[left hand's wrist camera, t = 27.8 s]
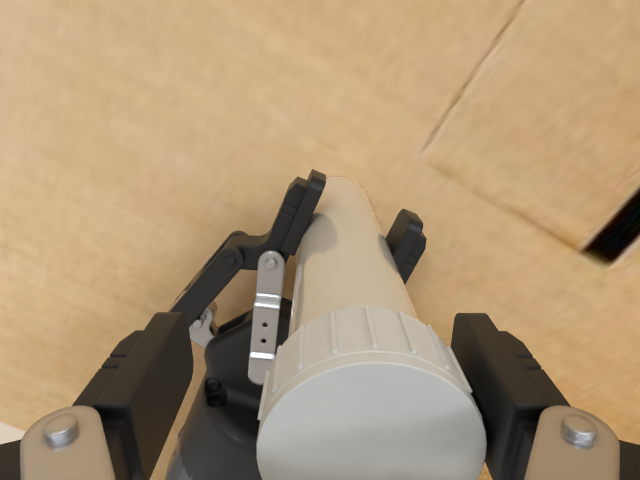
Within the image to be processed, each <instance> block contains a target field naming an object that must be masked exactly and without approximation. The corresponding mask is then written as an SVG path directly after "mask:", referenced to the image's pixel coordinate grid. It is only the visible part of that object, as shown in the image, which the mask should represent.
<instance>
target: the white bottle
mask: <svg viewBox="0 0 640 480" xmlns="http://www.w3.org/2000/svg"><path fill="white" fill-rule="evenodd" d="M365 306H369V307H378V308H385V309H390V310H394V311H398V312H399V311H402V312H403V313H404V314H406V315H408V316H411V317H413V318H415V319H417V320H418V321H420V320H419V318H418V316H417V313H416V311H415V309H414V306H413V304H412V301H411V299H410V297H409V294H408V292H407V289H406V287H405V285H404V282H403V280H402V278H401V275H400V273H399V270H398V268H397V266H396V263H395V261H394V258H393V256H392V254H391V251H390V249H389V246H388V244H387V242H386V239H385V237H384V235H383V232H382V230H381V227H380V225H379V223H378V220H377V218H376V215H375V213H374V211H373V208H372V206H371V203H370V201H369V199H368V196H367V194H366V192H365V191H364V189H363V188H362V187H361V186H360V185H359V184H358V183H356V182H355V181H353V180H351V179H349V178H346V177H340V176H333V177H328V178H326V185H325V187H324V190H323V193H322V195H321V197H320V199H319V202H318V204H317V206H316V208H315V211H314V213H313V215H312V217H311V220H310V222H309V224H308V226H307V228H306V231H305V233H304V235H303V237H302V239H301V242H300V244H299V247H298V256H297V264H296V273H295V282H294V290H293V299H292V308H291V316H290V325H289V334H288V338H289V337H290V336H291V335H292V334H293V333H294V332H295V331H297V330H298V329H299V328H300V326H301V325H302V324H303V325H305V324H306V323H308V322H310V321H311V320H313V319H315V318H317V317H320V316H322V315H324V314H327V313H330V311H333V310H334V311H336V310H341V309H346V308H353V307H365Z"/></svg>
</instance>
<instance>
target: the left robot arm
mask: <svg viewBox="0 0 640 480" xmlns="http://www.w3.org/2000/svg"><path fill="white" fill-rule="evenodd" d="M451 349H452V351H453V353H454V355H455V357H456V359H457V361H458V363H459V365H460V367H461V369H462V371H463V373H464V375H465V377H466V379H467V381H468V383H469V385H470V387H471V389H472V391H473V392H471V395H472V397H473V399H474V401H475V403H476V405H477V407H478V409H479V412H480V414H481V416H482V421H483V424H484V428H485V431H486V440H487V447H486V457H485V462H486V465H487V467H488V469H489V472H490V474H491V476H492V479H493V480H640V445H637V444H633V443H629V442H625V441H621V440H618V438H617V436H616V434H615V433H614V432H613V430H612V429H611V428H610V427H609V426H608V425H607V424H606V423H604V422H603V421H602V420H600V419H599V418H597V417H596V416H594V415H592V414H590V413H588V412H586V411H583V410H581V409H578V408H574V407H571V406H570V404H569V403H568V402H567V400H566V399H565V398H564V396H563V395H562V394H561V392H560V391H559V390H558V389H557V387H556V386H555V385H554V383H553V382H552V381H551V379H550V378H549V377H548V375H547V374H546V373H545V371H544V370H541V366H540V365H539V363H538V362H537V361H536V359H535V358H533V355H532V354H531V353H530V352H529V350H528V349H527V348H526V346H525V345H524V344H523V342H521V341H520V340H518V339H517V338H515V337H514V336H513V335H511V334H510V333H508V332H507V331H498V329H497V328H496V327H495V325H494V324H493V322H492V321H491V319H490V318H489V316H488V315H487V314H486V313H457V314H456V316H455V319H454V326H453V333H452V341H451ZM192 374H193V354H192V347H191V339H190V331H189V324H188V318H187V315H186V313H184V312H158V313H156V314H155V315H154V316H153V318H152V319H151V321H150V322H149V324H148V325H147V327H146V328H145V329H144V331H135V332H133V333H132V334H130V335H129V336H127V337H126V338H125V339H123V340H122V341H120V342H119V344H118V345H117V346H116V348H115V349H114V350H113V352H112V353H111V354H110V358H107V360H106V361H105V362H104V364H103V365H102V369H99V370H98V372H97V373H96V374H95V376H94V377H93V378H92V380H91V381H90V382H89V384H88V385H87V386H86V388H85V389H84V390H83V392H82V393H81V394H80V396H79V397H78V398H77V400H76V401H75V402H74V404H73V405H72V406H71V407H66V408H62V409H59V410H57V411H54V412H52V413H50V414H48V415H46V416H44V417H43V418H41V419H40V420H38V421H37V422H36V423H34V424H33V425H32V426H31V427H30V428H29V429H28V430H27V432H26V433H25V434H24V436H23V438H22V439H21V440H18V441H14V442H9V443H5V444H1V445H0V480H150V477H151V475H152V472H153V470H154V468H155V465H156V463H157V461H158V458H159V456H160V453H161V451H162V449H163V446H164V444H165V442H166V439H167V437H168V434H169V432H170V430H171V427H172V425H173V423H174V420H175V418H176V415H177V413H178V411H179V408H180V406H181V404H182V401H183V399H184V396H185V394H186V392H187V389H188V387H189V385H190V382H191V379H192Z"/></svg>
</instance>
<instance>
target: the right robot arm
mask: <svg viewBox="0 0 640 480" xmlns="http://www.w3.org/2000/svg"><path fill="white" fill-rule="evenodd" d="M325 185H326V175H325V174H322V173H320V172H318V171H315V170H313V169H312V171H311V172H310V175H309V177H308V179H307V180H305V179H302V178H300V177H297V178H296V179H295V180H294V181H293V182H292V183H291V184H290V185H289V188H288V190H287V193H286V195H285V197H284V200H283V202H282V205H281V207H280V209H279V212H278V214H277V217H276V219H275V221H274V224H273V226H272V228H271V230H270V231H269V232H268V233H267V234H265V235H262V236H248V235H247V234H246V233H245V232H242V231H235V232H233V233H231V234H230V235H229V236H228V238H227V239H226V240H225V241H224V242H223V244H222V245H221V246H220V247H219V248H218V250H217V251H216V252H215V253H214V254H213V256H212V257H211V258H210V259H209V260H208V261H207V263H206V264H205V265H204V266H203V267H202V269H201V270H200V271H199V272H198V273H197V275H196V276H195V277H194V278H193V279H192V281H191V282H190V283H189V284H188V285H187V286H186V288H185V289H184V290H183V291H182V292H181V294H180V295H179V296H178V297H177V299H176V300H175V302H174V303H173V305H172V306H171V308H170V309H169V311H168V312H184V313H186V315H187V318H188V324H189V331H190V339H191V340H193V341H194V342H196V343H197V344H199V345H200V346H202V347H203V348H205V353H204V357H205V362H206V366H207V370H206V373H205V375H204V378H203V380H202V383H201V385H200V387H199V390H198V392H197V395H196V397H195V400H194V402H193V405H192V407H191V409H190V412H189V414H188V417H187V419H186V422H185V424H184V426H183V427H182V429H181V431H180V433H179V435H178V441H177V444H176V446H175V449H174V451H173V453H172V456H171V459H170V462H169V465H168V468H167V473H166V478H165V480H262V477H261V474H260V472H259V468H258V463H257V447H256V444H257V438H258V432H259V426H260V420H258V414H259V408H260V402H261V397H262V391H263V385H264V380H265V374H266V371H269V370H270V367H271V364H272V361H273V359H274V358H275V356H276V354H277V348H278V347H279V345H280V346H282V345H283V343H284V342H285V341H286V340H287V339H288V334H289V325H290V316H291V308H292V301H290V300H288V299H285V298H283V289H284V280H285V268H286V262H287V259H288V257H289V255H293V256H294V255H295V253H296V251H297V249H298V246H299V244H300V242H301V239H302V237H303V235H304V233H305V231H306V228H307V226H308V224H309V222H310V220H311V217H312V215H313V213H314V211H315V208H316V206H317V204H318V202H319V199H320V197H321V195H322V193H323V190H324V187H325ZM422 229H423V223H422V221H421V220H420V218H419V217H418V216H417V214H415V213H412V212H410V211H408V210H405V209H402V210H401V211H400V212H399V214H398V216H397V218H396V220H395V221H394V223H393V225H392V227H391V229H390V231H389V233H388V235H387V237H386V242H387V244H388V246H389V249H390V251H391V254H392V256H393V258H394V261H395V263H396V266H397V268H398V270H399V273H400V275H401V278H402V280H403V282H404V285H405V284H406V282H407V280H408V278H409V277H410V275H411V273H412V271H413V269H414V267H415V266H416V264H417V262H418V260H419V259H420V257H421V255H422V253H423V252H424V250H425V245H426V237H425V236H424V234H423V233H422ZM240 269H247V270H258V272H257V285H256V296H255V301H254V308H253V309H251V310H249V311H247V312H245V313H243V314H242V315H240V316H238V317H236V318H234V319H232V320H230V321H229V322H227V323H225V324H223V325H221V326H219V327H217V326H216V325H215V323H214V316H215V314H216V311H217V305H216V303H215V302H214V301H213V300H214V299H215V298H216V296H217V295H218V294H219V293H220V292H221V291H222V290H223V288H224V287H225V286H226V285H227V284H228V283H229V282H230V280H231V279H232V278H233V277H234V276H235V275H236V274H237V272H238V271H239V270H240Z"/></svg>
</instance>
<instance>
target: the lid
mask: <svg viewBox="0 0 640 480" xmlns="http://www.w3.org/2000/svg"><path fill="white" fill-rule="evenodd" d="M471 392H473V391H472V389H471V387H470V385H469V383H468V381H467V379H466V377H465V375H464V373H463V371H462V369H461V367H460V365H459V363H458V361H457V359H456V357H455V355H454V353H453V351H452V349H451V347H450V346H448V347H447V346H446V345H445V344H444V342H443V341H442V339H441V338H440V337H439V336H438V335H437V334H436V333H435V332H434V331H433V329H432V327H431V326H430V325H428V326H426V325H425V324H424V323H422V322H420V321H418V320H417V319H415V318H413V317H411V316H408V315H406V314H404V313H403V312H402V311H399V312H398V311H394V310H390V309H385V308H378V307H369V306H365V307H353V308H346V309H341V310H336V311H334V310H333V311H330V313H327V314H324V315H322V316H320V317H317V318H315V319H313V320H311V321H310V322H308V323H306V324H305V325H303V324H302V325H301V326H300V328H299V329H298V330H297V331H295V332H294V333H293V334H292V335H291V336H290V337H289V338H288V339H287V340H286V341H285V342H284V343H283V345H282V346H280V345H279V347H278V348H277V354H276V356H275V358H274V359H273V361H272V364H271V367H270V370H269V371H266V374H265V380H264V385H263V391H262V397H261V402H260V408H259V414H258V420H260V426H259V432H258V438H257V444H256V447H257V463H258V468H259V472H260V474H261V477H262V480H477V479H478V477H479V475H480V473H481V470H482V468H483V465H484V461H485V457H486V447H487V440H486V431H485V428H484V424H483V421H482V416H481V414H480V412H479V409H478V407H477V405H476V403H475V401H474V399H473V397H472V395H471Z"/></svg>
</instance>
